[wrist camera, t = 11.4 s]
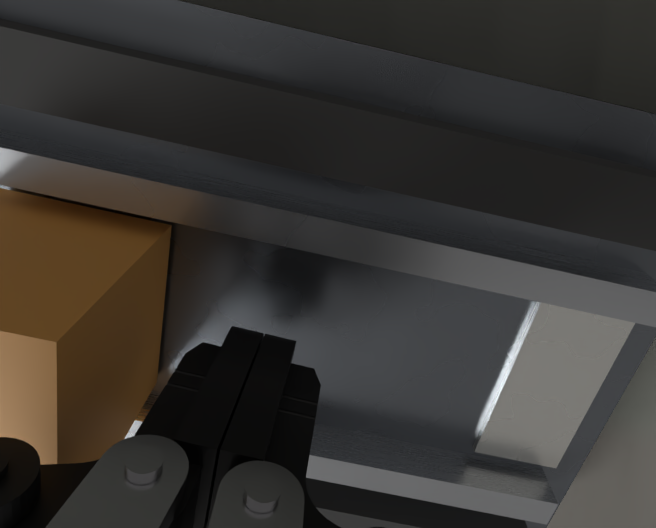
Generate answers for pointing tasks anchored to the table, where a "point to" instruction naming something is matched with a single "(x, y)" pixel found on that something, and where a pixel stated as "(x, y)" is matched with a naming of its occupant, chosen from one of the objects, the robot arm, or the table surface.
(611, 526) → the table surface
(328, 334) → the panel
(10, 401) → the tan cardboard cube
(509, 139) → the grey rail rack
